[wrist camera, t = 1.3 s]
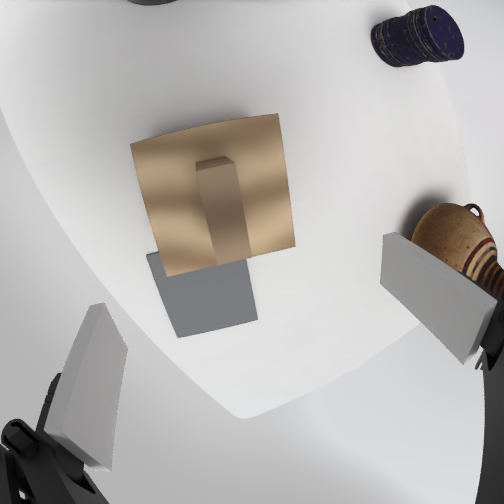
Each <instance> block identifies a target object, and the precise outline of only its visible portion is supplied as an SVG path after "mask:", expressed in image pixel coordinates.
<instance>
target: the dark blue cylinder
mask: <svg viewBox="0 0 504 504" xmlns="http://www.w3.org/2000/svg"><path fill="white" fill-rule="evenodd" d="M371 42H372V45H373V48H374V50H375V51H376V53H377V55H378V56H379V57H380V58H381V59H382V60H383V61H384V62H385V63H387V64H388V65H390V66H393V67H402V66H412V65H418V64H421V63H422V62H427V61H429V62H443V61H448V60H458V59H460V58H461V57H462V56H463V54H464V41H463V37H462V34H461V32H460V29H459V27H458V26H457V24H456V22H455V21H454V19H453V18H452V17H451V16H450V15H449V14H448V13H447V12H446V11H445V10H444V9H442V8H441V7H439V6H436V5H430V6H427V7H424V8H419V9H415V10H413V11H410V12H408V13H407V14H406V15H404V16H401V17H394V18H390V19H388V20H385V21H383V22H382V23H380V24H377V25H375V26H374V27H373V29H372V31H371Z"/></svg>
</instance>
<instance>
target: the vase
mask: <svg viewBox="0 0 504 504" xmlns="http://www.w3.org/2000/svg"><path fill="white" fill-rule="evenodd" d="M472 208H475V209H476V210H477V211H478V212H479V216H476V215H475V214H474V213H472V212H471V211H470V209H472ZM411 242H412V243H414V244H416V245H417V246H419V247H420V248H422V249H424V250H425V251H427V252H428V253H430V254H431V255H433V256H435V257H436V258H438V259H439V260H441V261H442V262H444V263H445V264H447V265H448V266H450V267H451V268H453V269H455V270H457V271H460V272H463V273H465V274H466V275H468V276H469V277H470V278H472V280H475V281H476V282H477V283H479V285H482V286H483V287H484V288H486V289H487V290H488V291H490V292H491V293H493V294H494V295H495V296H497V297H498V298H499V299H500V300H502V301H503V302H504V270H503V269H502V268H501V266H500V265H499V264H498V262H497V248H496V244H495V242H494V239H493V237H492V235H491V234H490V232H489V230H488V229H487V227H486V226H485V223H484V215H483V212H482V210H481V209H480V207H479V206H477V205H476V204H467V205H465V206H460V205H457V204H453V203H444V204H439V205H436V206H434V207H433V208H431V209H430V210H428V211H427V212H426V213H425V214H424V215H423V216H422V218H421V219H420V221H419V222H418V224H417V226H416V228H415V230H414V233H413V235H412V239H411Z"/></svg>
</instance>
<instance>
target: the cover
mask: <svg viewBox="0 0 504 504" xmlns="http://www.w3.org/2000/svg"><path fill="white" fill-rule="evenodd" d="M130 146H131V151H132V155H133V160H134V164H135V168H136V172H137V176H138V180H139V184H140V188H141V192H142V196H143V200H144V203H145V207H146V211H147V214H148V218H149V221H150V225H151V228H152V231H153V235H154V238H155V241H156V244H157V248H158V251H159V254H160V257H161V260H162V263H163V266H164V269H165V272H166V275H167V277H169V276H173V275H177V274H182V273H186V272H190V271H194V270H199V269H203V268H207V267H211V266H216V265H222V264H226V263H230V262H234V261H239V260H243V259H247V258H251V257H254V256H258V255H262V254H266V253H270V252H275V251H279V250H283V249H287V248H291V247H295V237H294V228H293V219H292V211H291V202H290V194H289V186H288V179H287V171H286V164H285V157H284V150H283V143H282V136H281V129H280V123H279V117H278V113H277V114H269V115H261V116H254V117H247V118H241V119H235V120H229V121H223V122H218V123H213V124H207V125H203V126H198V127H193V128H189V129H184V130H180V131H176V132H172V133H168V134H164V135H160V136H157V137H153V138H149V139H146V140H142V141H139V142H136V143H132V144H130Z"/></svg>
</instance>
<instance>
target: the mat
mask: <svg viewBox="0 0 504 504" xmlns="http://www.w3.org/2000/svg"><path fill="white" fill-rule="evenodd" d="M146 257H147V260H148V263H149V266H150V269H151V271H152V274H153V277H154V280H155V282H156V285H157V288H158V290H159V293H160V296H161V298H162V301H163V303H164V306H165V308H166V311H167V313H168V316H169V318H170V321H171V323H172V326H173V328H174V330H175V333H176V335H177V337H178V338H181V337H186V336H191V335H195V334H200V333H205V332H209V331H214V330H218V329H222V328H227V327H231V326H235V325H239V324H243V323H247V322H251V321H255V320H258V317H257V312H256V307H255V302H254V297H253V292H252V286H251V281H250V276H249V271H248V266H247V261H246V259H243V260H239V261H234V262H230V263H226V264H222V265H216V266H211V267H207V268H203V269H199V270H194V271H190V272H186V273H182V274H177V275H173V276H169V277H167V275H166V272H165V269H164V266H163V263H162V260H161V257H160V254H159V252H156V253H151V254H147V255H146Z"/></svg>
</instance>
